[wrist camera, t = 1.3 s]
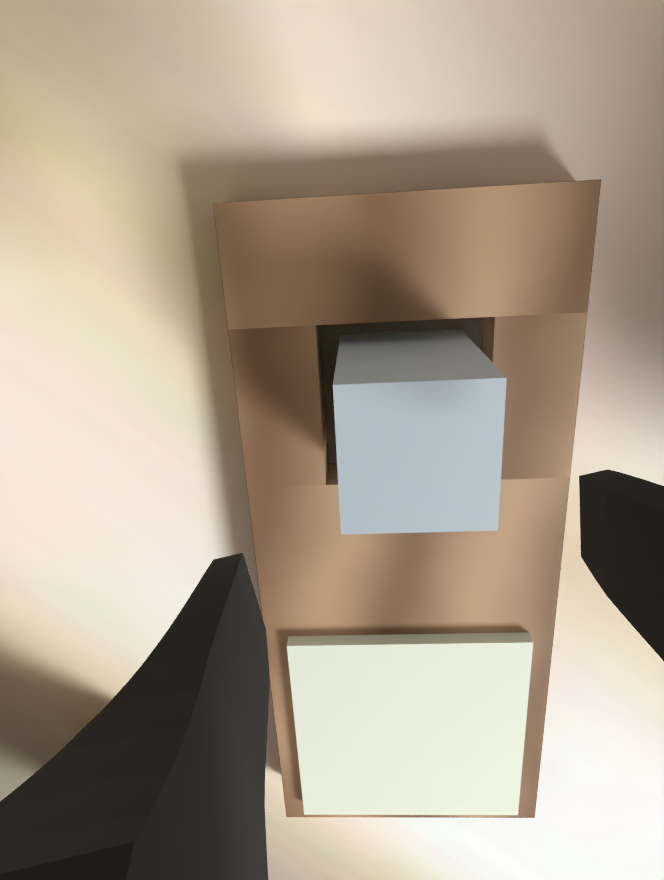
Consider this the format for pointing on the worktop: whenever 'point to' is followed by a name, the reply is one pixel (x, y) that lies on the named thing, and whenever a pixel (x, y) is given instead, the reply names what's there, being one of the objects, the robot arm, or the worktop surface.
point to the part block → (417, 433)
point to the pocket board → (304, 423)
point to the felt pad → (410, 722)
